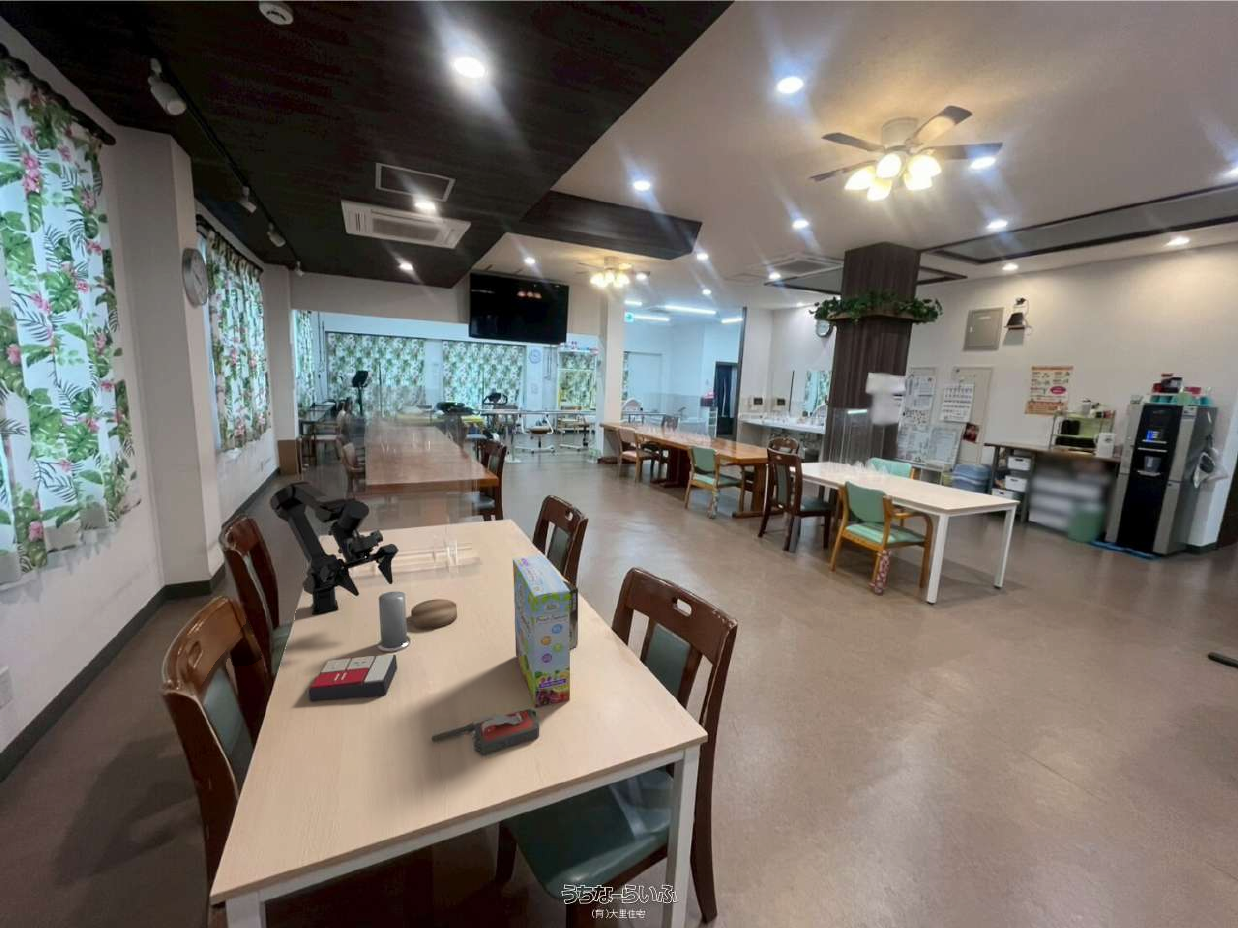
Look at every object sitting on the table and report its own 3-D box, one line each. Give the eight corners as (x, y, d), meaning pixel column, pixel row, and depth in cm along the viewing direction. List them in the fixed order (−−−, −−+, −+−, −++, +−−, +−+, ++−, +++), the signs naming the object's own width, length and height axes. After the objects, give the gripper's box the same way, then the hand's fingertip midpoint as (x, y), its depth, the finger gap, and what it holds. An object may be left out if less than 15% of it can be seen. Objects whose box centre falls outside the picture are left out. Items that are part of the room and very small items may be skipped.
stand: (407, 614, 146) (407, 604, 146) (450, 605, 153) (450, 596, 152) (416, 633, 137) (416, 622, 136) (462, 622, 143) (461, 612, 142)
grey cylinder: (375, 641, 132) (373, 593, 130) (407, 634, 136) (405, 587, 134) (380, 655, 126) (377, 605, 123) (413, 647, 130) (411, 599, 127)
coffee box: (563, 636, 137) (563, 579, 134) (578, 645, 133) (579, 587, 130) (534, 648, 131) (534, 588, 128) (549, 658, 127) (550, 597, 124)
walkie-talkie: (531, 711, 108) (430, 741, 98) (531, 692, 107) (430, 720, 97) (546, 738, 100) (438, 773, 91) (546, 717, 99) (438, 751, 90)
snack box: (511, 655, 127) (511, 557, 122) (546, 649, 130) (546, 553, 126) (532, 709, 107) (532, 594, 103) (572, 700, 111) (573, 588, 106)
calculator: (326, 658, 118) (396, 651, 120) (328, 675, 119) (397, 667, 121) (307, 687, 107) (383, 678, 110) (309, 706, 108) (385, 696, 111)
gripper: (322, 531, 125) (350, 585, 121) (392, 515, 140) (419, 562, 136) (308, 555, 130) (334, 607, 126) (377, 536, 146) (402, 583, 142)
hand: (375, 589), depth 132 cm, fingers open, 9 cm apart
